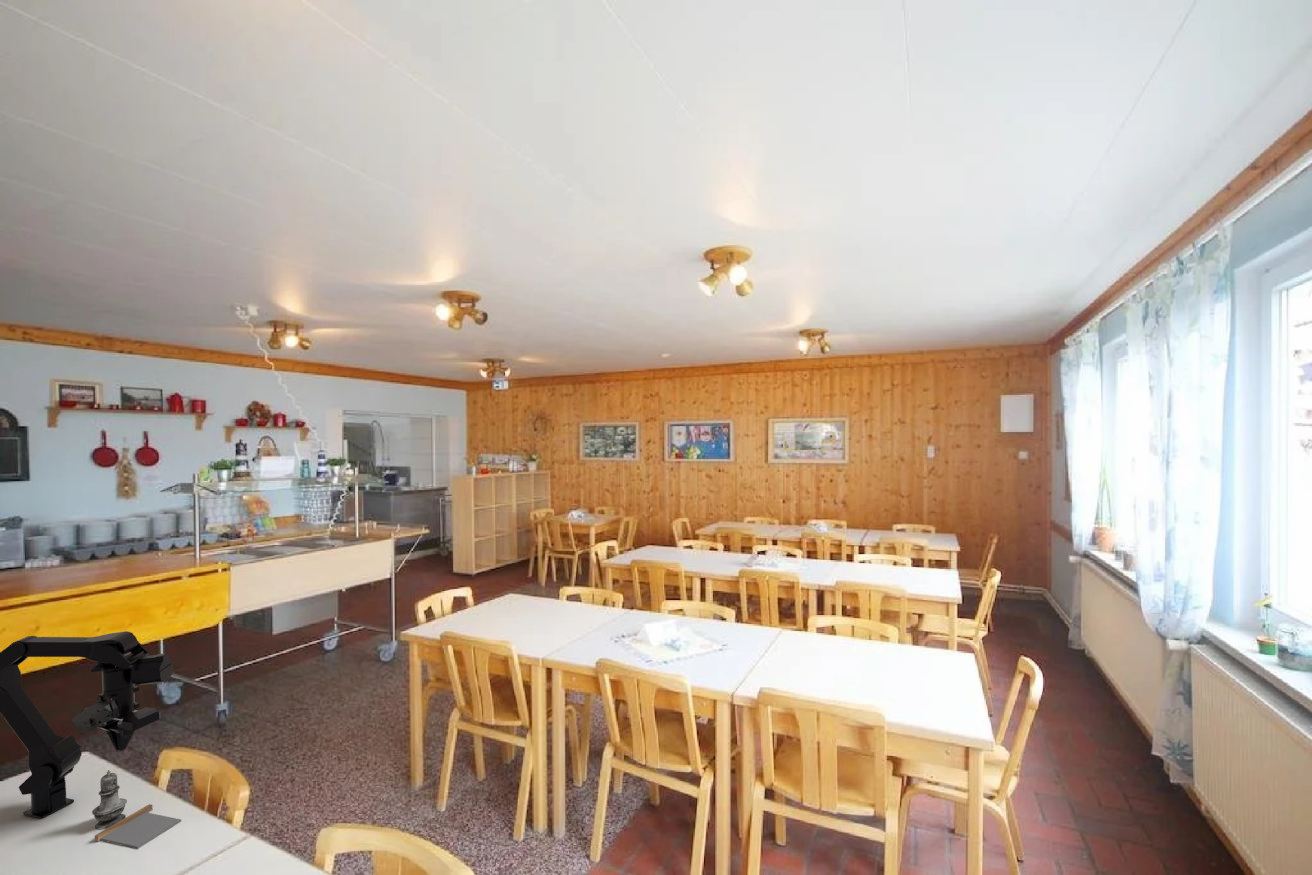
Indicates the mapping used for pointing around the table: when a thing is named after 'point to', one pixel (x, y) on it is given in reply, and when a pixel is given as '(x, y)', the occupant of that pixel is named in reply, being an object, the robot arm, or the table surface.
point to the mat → (141, 830)
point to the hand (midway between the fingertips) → (120, 749)
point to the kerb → (123, 822)
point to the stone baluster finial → (109, 803)
